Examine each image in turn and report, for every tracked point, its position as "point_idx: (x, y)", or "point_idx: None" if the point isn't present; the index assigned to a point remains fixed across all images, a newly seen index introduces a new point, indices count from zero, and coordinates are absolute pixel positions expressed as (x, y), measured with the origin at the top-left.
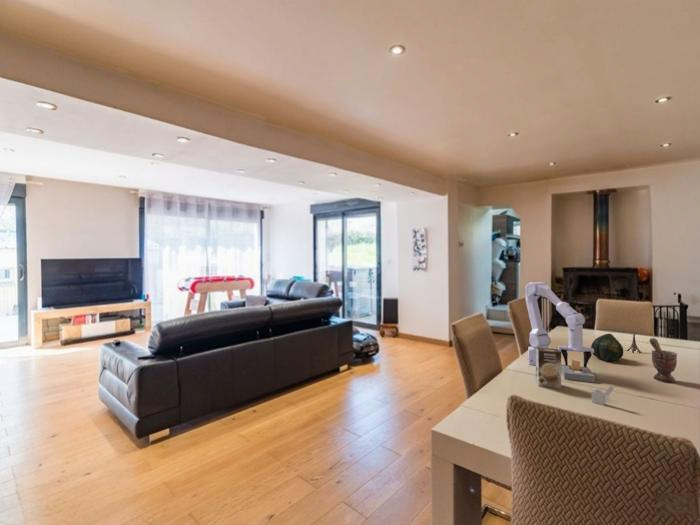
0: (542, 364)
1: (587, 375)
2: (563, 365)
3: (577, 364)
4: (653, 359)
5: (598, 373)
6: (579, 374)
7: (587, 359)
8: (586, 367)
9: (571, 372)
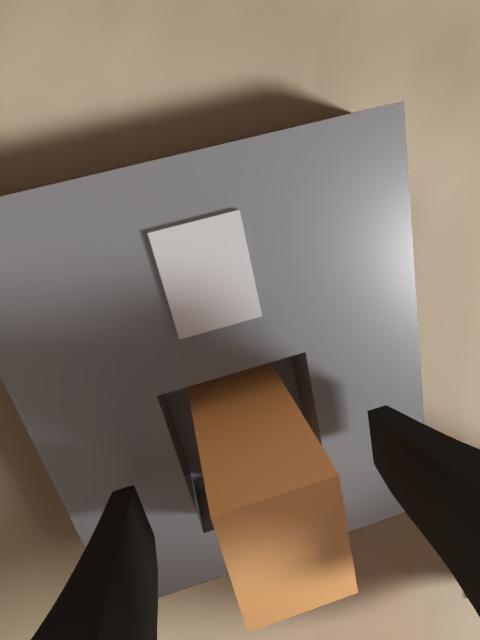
0: None
1: (50, 186)
2: None
3: (242, 461)
4: None
5: (20, 601)
6: (178, 154)
7: (58, 631)
8: None
9: (301, 201)
